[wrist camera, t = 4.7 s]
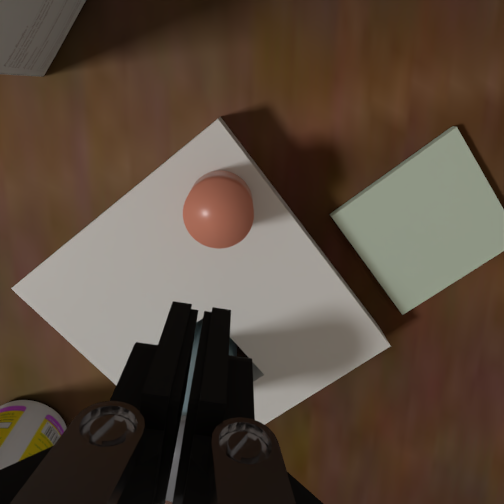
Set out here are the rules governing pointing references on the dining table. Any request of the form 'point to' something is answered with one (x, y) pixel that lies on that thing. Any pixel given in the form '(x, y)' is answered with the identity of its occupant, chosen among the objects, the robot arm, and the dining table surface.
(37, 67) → the supplement box
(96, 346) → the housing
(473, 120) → the dining table surface
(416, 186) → the mat
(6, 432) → the supplement bottle
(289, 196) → the dining table surface
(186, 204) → the knob
